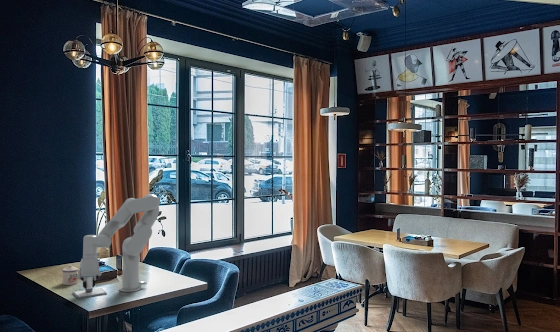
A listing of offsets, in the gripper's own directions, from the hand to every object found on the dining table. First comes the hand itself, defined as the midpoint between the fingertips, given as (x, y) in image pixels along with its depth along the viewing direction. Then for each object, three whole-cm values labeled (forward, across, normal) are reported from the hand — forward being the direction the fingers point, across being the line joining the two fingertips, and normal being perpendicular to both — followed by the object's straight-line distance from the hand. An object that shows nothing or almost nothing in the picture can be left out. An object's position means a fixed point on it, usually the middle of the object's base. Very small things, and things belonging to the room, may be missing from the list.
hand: (89, 287), depth 273 cm
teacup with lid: (+4, +3, -29) cm, 29 cm away
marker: (+2, 0, 0) cm, 2 cm away
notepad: (+4, 0, +1) cm, 4 cm away
